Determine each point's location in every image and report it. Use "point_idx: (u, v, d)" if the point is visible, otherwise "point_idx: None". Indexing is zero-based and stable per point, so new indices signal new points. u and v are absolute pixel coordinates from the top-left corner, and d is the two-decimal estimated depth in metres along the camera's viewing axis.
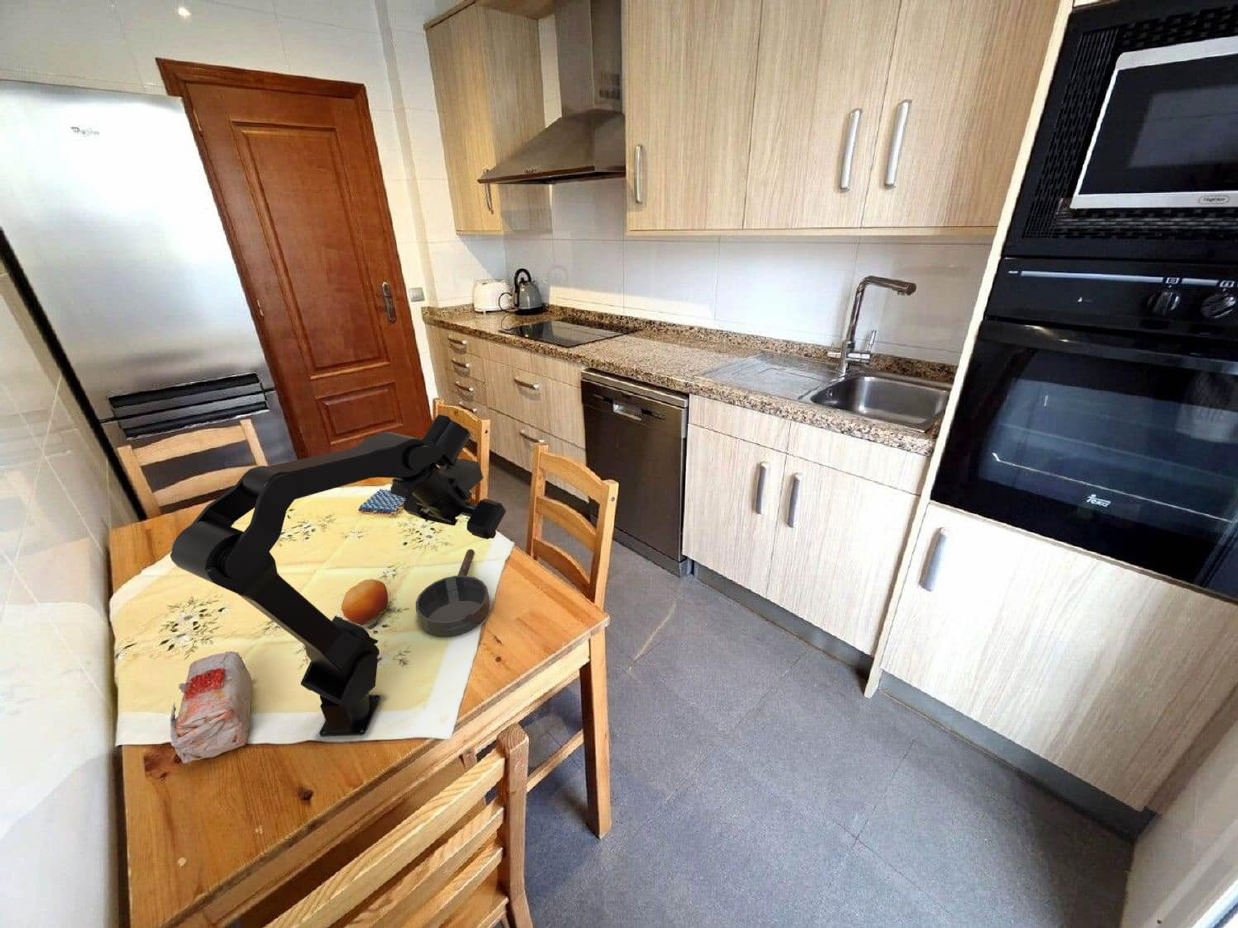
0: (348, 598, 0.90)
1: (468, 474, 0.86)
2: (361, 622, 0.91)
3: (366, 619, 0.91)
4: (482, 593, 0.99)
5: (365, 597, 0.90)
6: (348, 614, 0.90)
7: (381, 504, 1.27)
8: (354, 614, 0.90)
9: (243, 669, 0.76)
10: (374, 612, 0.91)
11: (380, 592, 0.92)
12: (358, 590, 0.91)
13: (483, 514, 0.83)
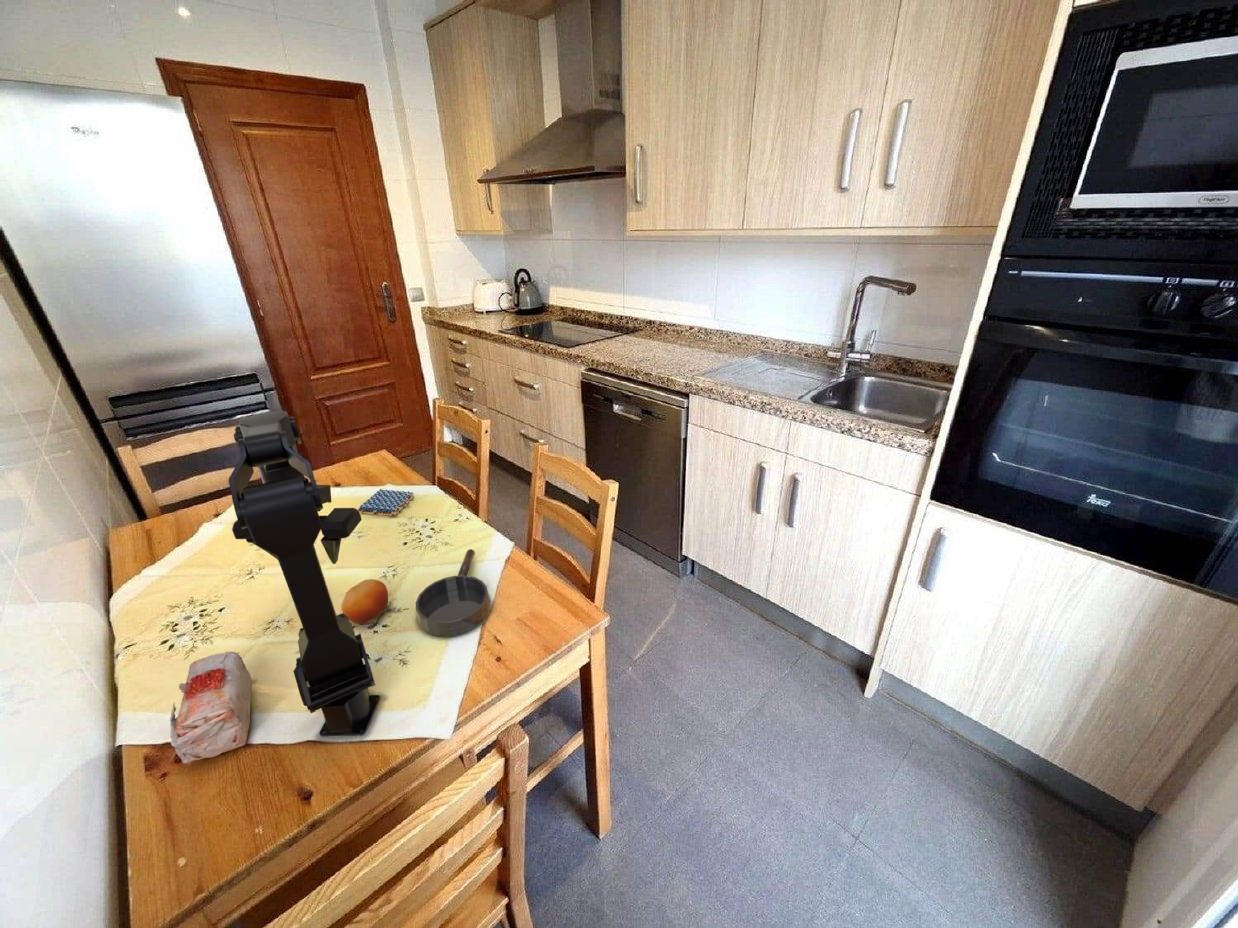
0: (348, 598, 0.90)
1: (321, 488, 0.89)
2: (361, 622, 0.91)
3: (366, 619, 0.91)
4: (482, 593, 0.99)
5: (365, 597, 0.90)
6: (348, 614, 0.90)
7: (381, 504, 1.27)
8: (354, 614, 0.90)
9: (243, 669, 0.76)
10: (374, 612, 0.91)
11: (380, 592, 0.92)
12: (358, 590, 0.91)
13: (340, 514, 0.85)
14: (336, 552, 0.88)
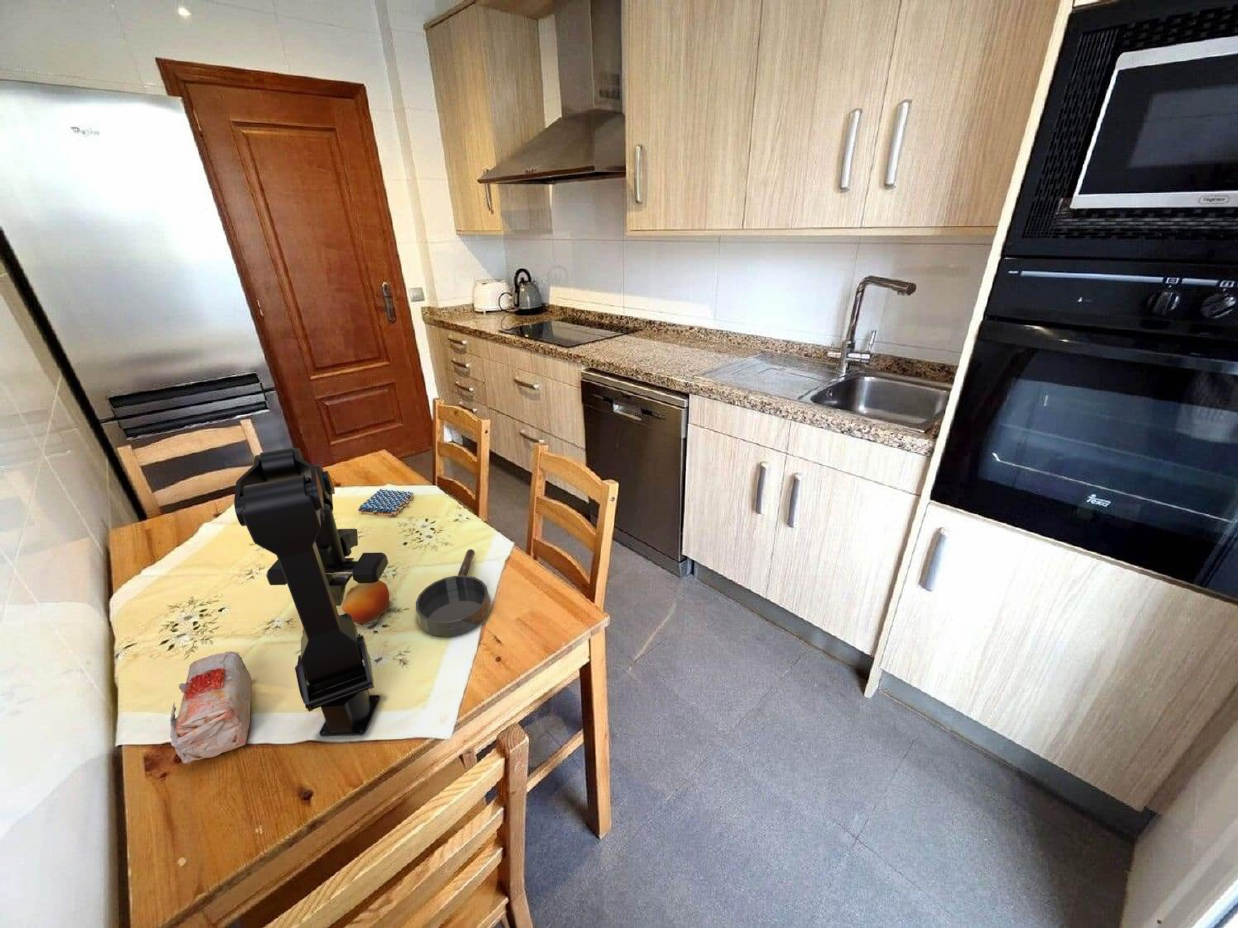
0: (349, 598, 0.90)
1: (349, 533, 0.93)
2: (362, 622, 0.92)
3: (367, 619, 0.91)
4: (482, 593, 0.99)
5: (366, 597, 0.90)
6: (349, 614, 0.90)
7: (381, 504, 1.27)
8: (356, 614, 0.90)
9: (243, 669, 0.76)
10: (375, 612, 0.91)
11: (381, 592, 0.92)
12: (359, 590, 0.91)
13: (370, 559, 0.90)
14: (341, 595, 0.92)
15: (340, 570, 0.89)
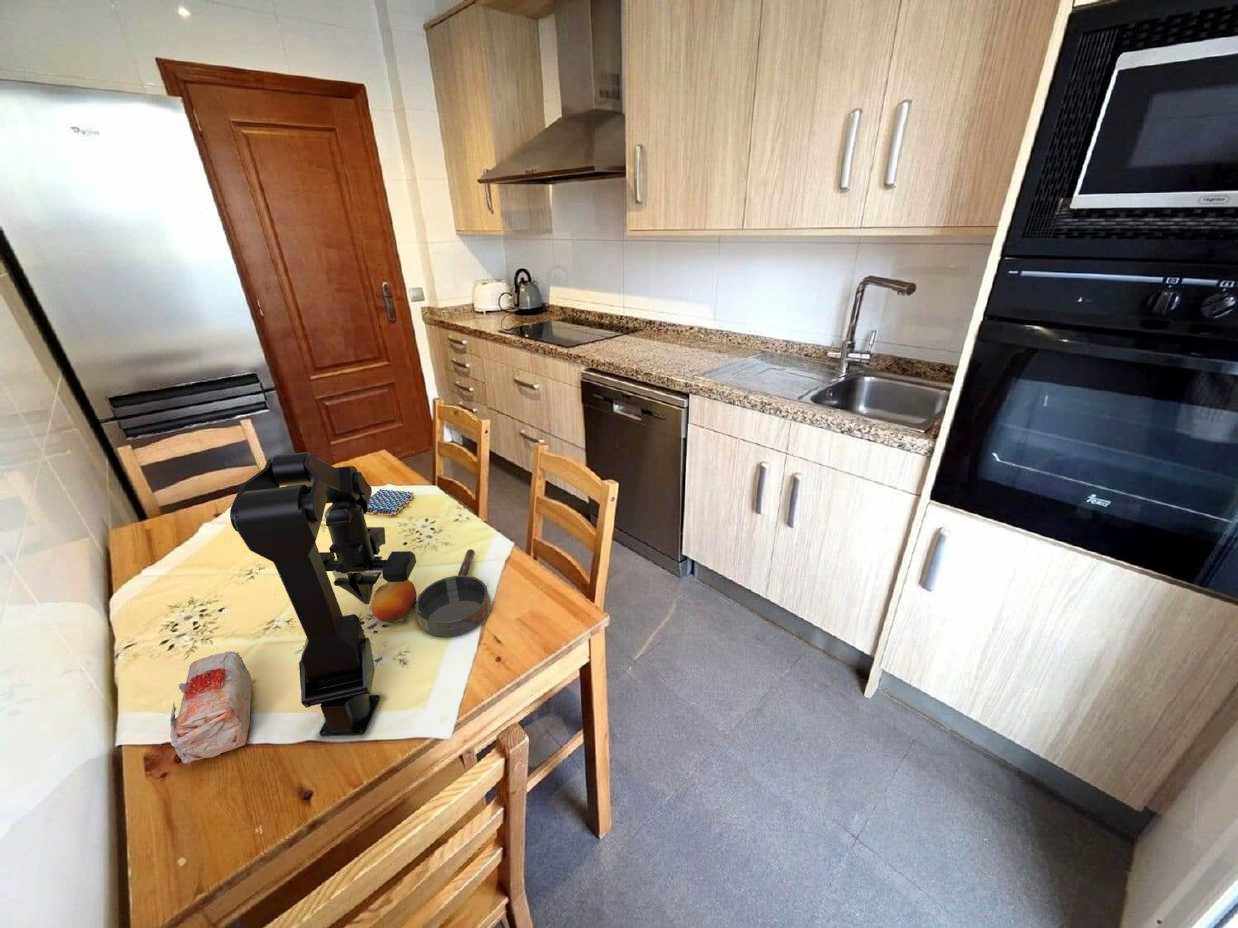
0: (378, 597, 0.91)
1: (378, 531, 0.93)
2: (390, 621, 0.92)
3: (394, 617, 0.91)
4: (482, 593, 0.99)
5: (394, 596, 0.90)
6: (377, 613, 0.91)
7: (381, 504, 1.27)
8: (384, 613, 0.90)
9: (243, 669, 0.76)
10: (403, 611, 0.92)
11: (409, 591, 0.93)
12: (387, 589, 0.91)
13: (399, 558, 0.90)
14: (370, 593, 0.93)
15: (370, 569, 0.89)
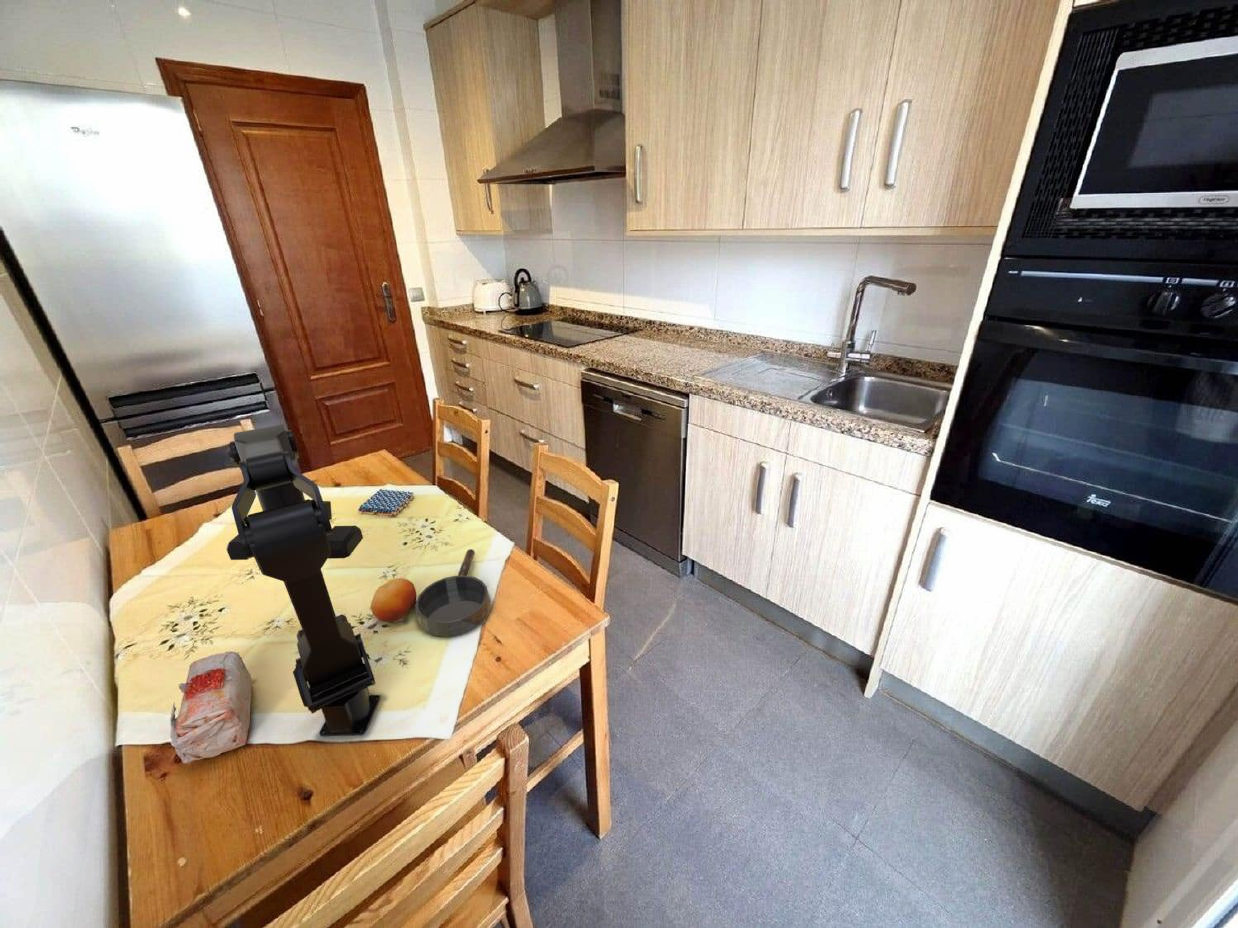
0: (377, 597, 0.91)
1: None
2: (390, 621, 0.92)
3: (394, 617, 0.91)
4: (482, 593, 0.99)
5: (394, 596, 0.90)
6: (377, 613, 0.91)
7: (381, 504, 1.27)
8: (384, 613, 0.90)
9: (243, 669, 0.76)
10: (403, 611, 0.92)
11: (409, 591, 0.93)
12: (387, 589, 0.91)
13: (341, 533, 0.81)
14: None
15: None
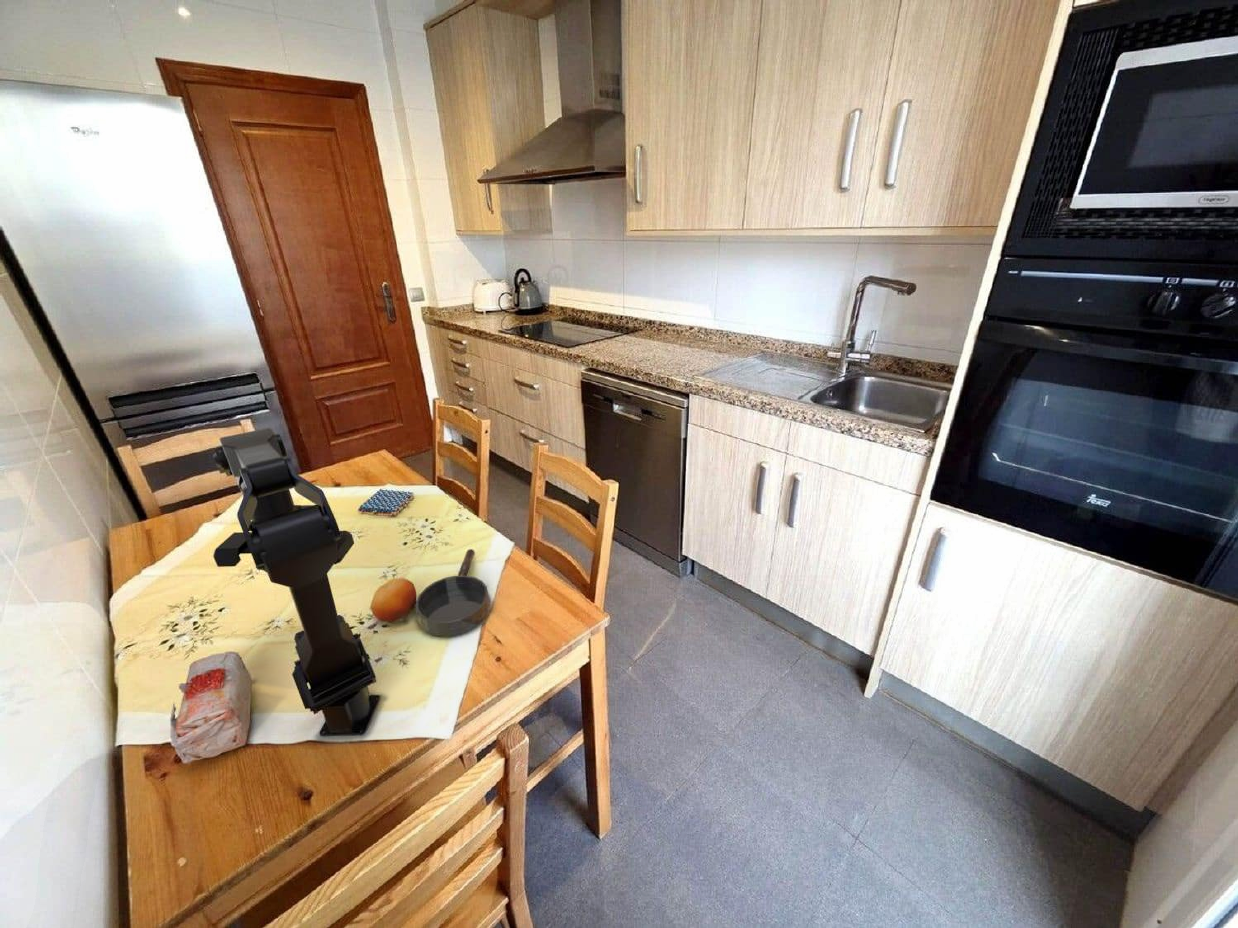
0: (377, 597, 0.91)
1: None
2: (390, 621, 0.92)
3: (394, 617, 0.91)
4: (482, 593, 0.99)
5: (394, 596, 0.90)
6: (377, 613, 0.91)
7: (381, 504, 1.27)
8: (384, 613, 0.90)
9: (243, 669, 0.76)
10: (403, 611, 0.92)
11: (409, 591, 0.93)
12: (387, 589, 0.91)
13: None
14: None
15: None
